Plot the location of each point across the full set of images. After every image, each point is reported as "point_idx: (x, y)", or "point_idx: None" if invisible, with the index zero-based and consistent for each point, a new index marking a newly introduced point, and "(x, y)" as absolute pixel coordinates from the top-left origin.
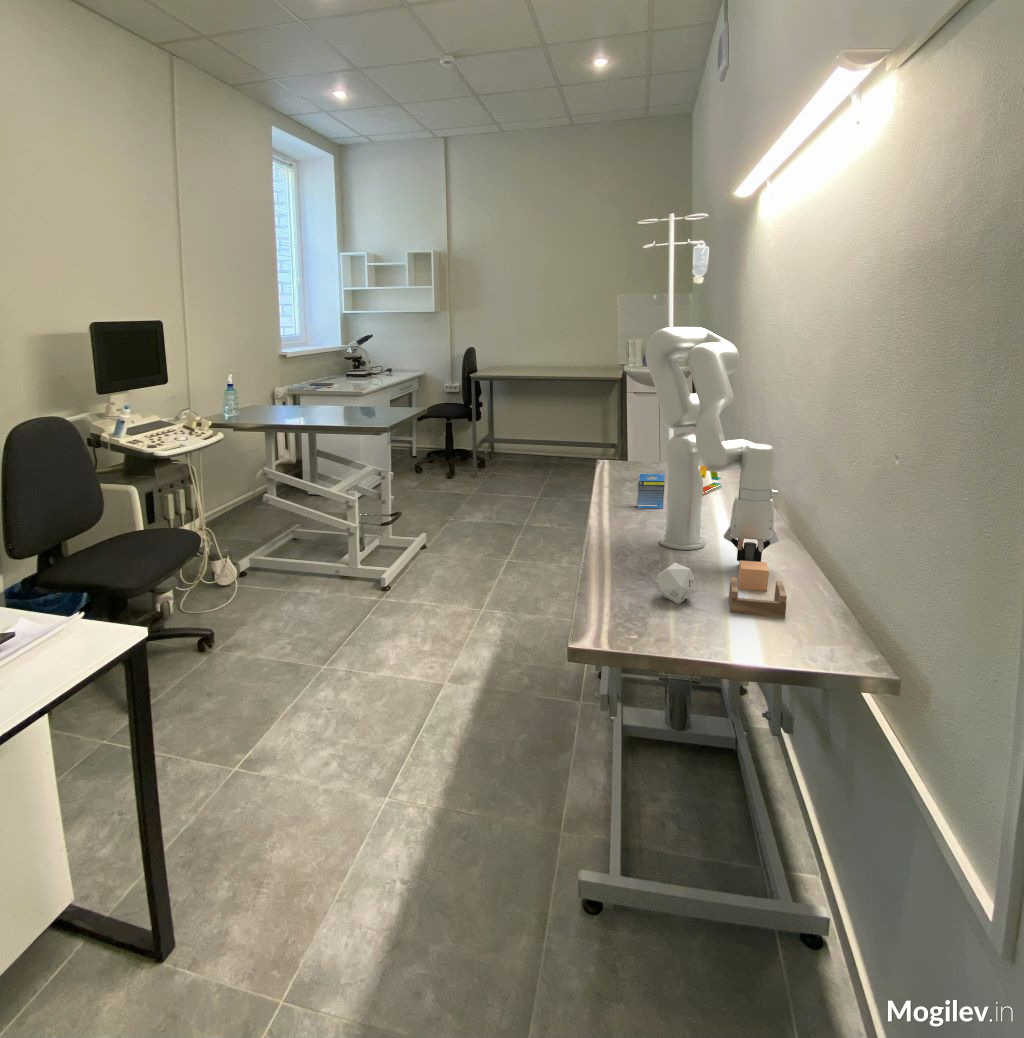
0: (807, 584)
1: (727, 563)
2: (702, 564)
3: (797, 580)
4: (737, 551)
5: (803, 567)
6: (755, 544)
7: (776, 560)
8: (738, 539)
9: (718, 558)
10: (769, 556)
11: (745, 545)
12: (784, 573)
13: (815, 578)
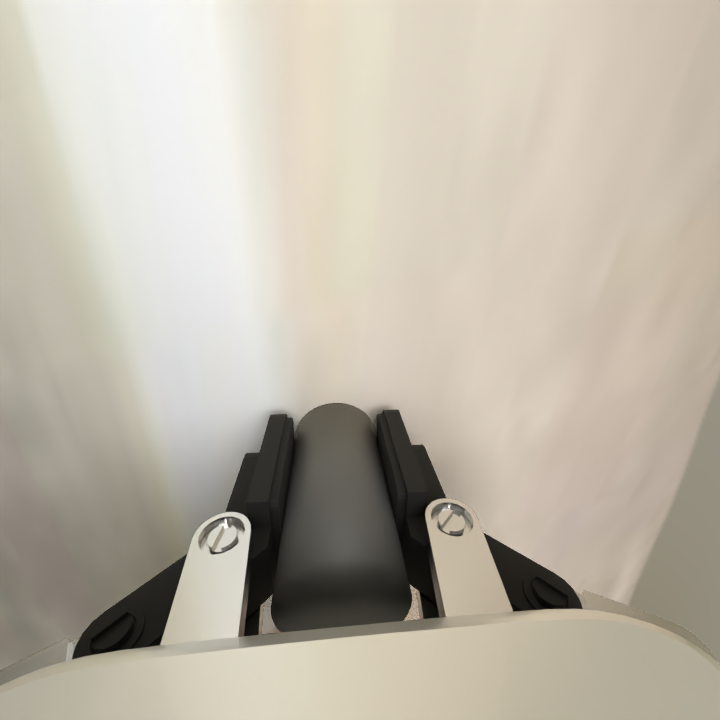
0: (579, 583)
1: (192, 419)
2: (26, 480)
3: (554, 557)
4: (231, 500)
5: (683, 369)
6: (398, 611)
7: (562, 257)
8: (184, 631)
9: (96, 321)
10: (540, 146)
11: (291, 627)
12: (526, 492)
13: (653, 514)
